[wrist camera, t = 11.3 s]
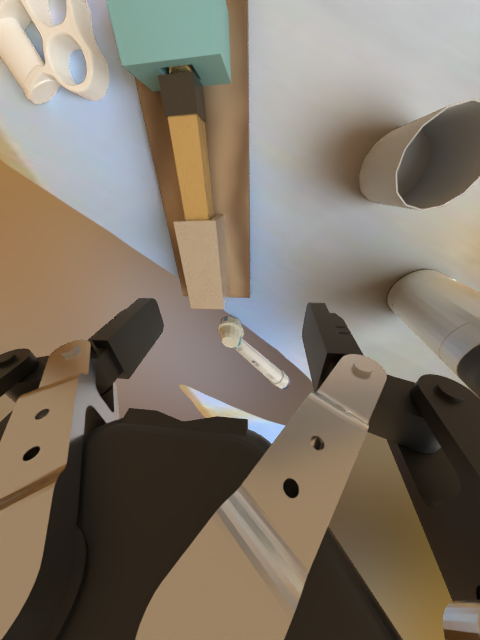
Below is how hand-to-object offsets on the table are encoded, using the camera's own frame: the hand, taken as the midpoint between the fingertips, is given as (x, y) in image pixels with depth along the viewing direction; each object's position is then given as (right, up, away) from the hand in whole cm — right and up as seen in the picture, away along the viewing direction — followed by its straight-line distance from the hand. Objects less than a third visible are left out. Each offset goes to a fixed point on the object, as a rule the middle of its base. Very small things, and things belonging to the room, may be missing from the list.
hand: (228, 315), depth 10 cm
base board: (-5, +20, +21) cm, 30 cm away
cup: (+22, +21, +17) cm, 35 cm away
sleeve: (-5, +11, +26) cm, 28 cm away
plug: (-5, +21, +17) cm, 28 cm away
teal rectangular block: (-5, +31, +12) cm, 33 cm away
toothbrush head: (+5, -8, +40) cm, 41 cm away
